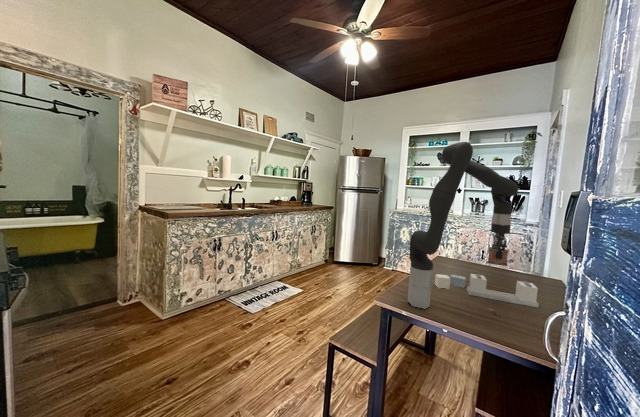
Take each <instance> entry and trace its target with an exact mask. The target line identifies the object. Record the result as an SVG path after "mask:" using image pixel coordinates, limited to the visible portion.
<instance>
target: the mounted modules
mask: <svg viewBox="0 0 640 417" xmlns="http://www.w3.org/2000/svg"><path fill="white" fill-rule="evenodd" d="M487 281H488V279H487V278H486V277H485V275H482V274H480V273H470V276H469V284H468V285H469V287H470V289H471V291H472V292H478V293H484V294H485V292H486V289H487V283H488V282H487ZM515 287H516V288H515V293H514V294H515V295H516V296H517V297H518V298H519V299H520V300H522V301H528V302H533V303H536V301H537V298H538V291H539V288H538V287H537V286H536V285H535V284H534V283H532V282H528V281H526V280H523V281H521V280H520V281H519V280H517V281H516V286H515Z"/></svg>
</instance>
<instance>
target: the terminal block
mask: <svg viewBox="0 0 640 417" xmlns="http://www.w3.org/2000/svg"><path fill="white" fill-rule="evenodd" d="M450 278H451V279H450V286H453V285H454V287H457V286H458V288H461V287H462V289H465V286H466V276H462V275H456V274H450Z"/></svg>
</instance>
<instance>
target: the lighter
mask: <svg viewBox="0 0 640 417" xmlns="http://www.w3.org/2000/svg"><path fill="white" fill-rule="evenodd" d="M498 245H499V244H498ZM509 252H510V251H509V249H508V244H506V247H505V251H503V252H502V259H497V258H496V253H497V246H496V244H493V243H491V247H488V256H487V264H490V265H496V266H502V267H503V266H505V267H507V266H508V258H509V257H508V256H509Z"/></svg>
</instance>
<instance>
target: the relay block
mask: <svg viewBox="0 0 640 417" xmlns="http://www.w3.org/2000/svg"><path fill="white" fill-rule="evenodd" d="M434 277H435V278H434V285H436V286H437V287H438V288H437V287H436V286H435V287H436V288H437V289H441V288H446V289H445V290H450V289H451V287H450V286H451V285H450V279H451V276H449V275H448V274H439V273H436V274H435V276H434Z"/></svg>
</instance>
